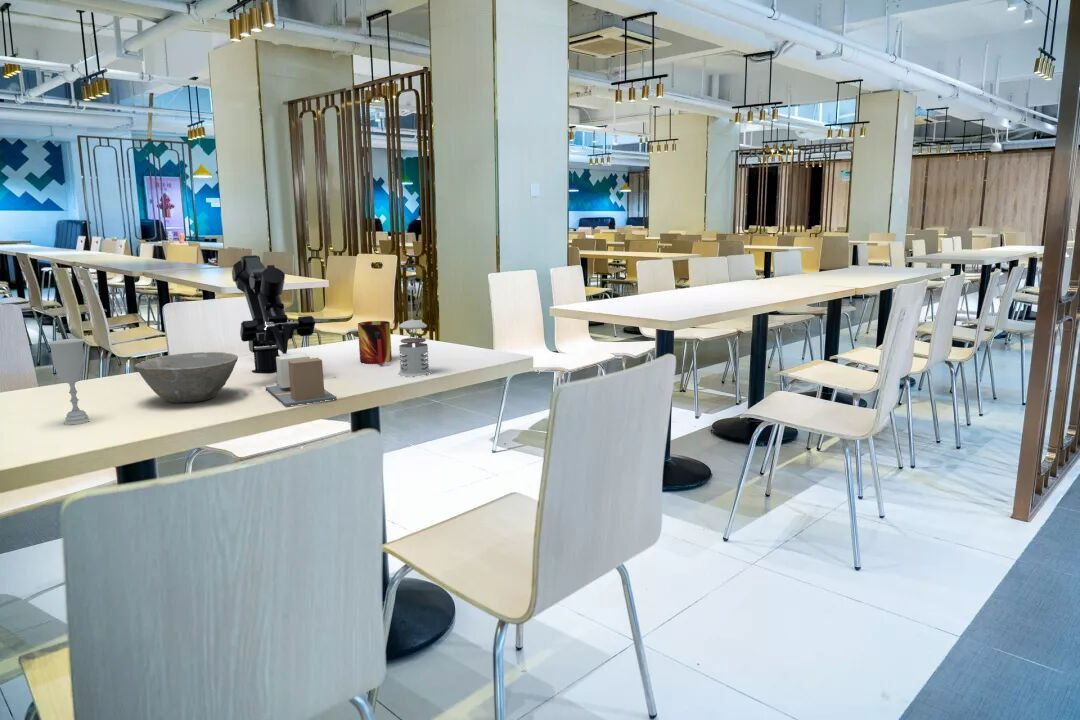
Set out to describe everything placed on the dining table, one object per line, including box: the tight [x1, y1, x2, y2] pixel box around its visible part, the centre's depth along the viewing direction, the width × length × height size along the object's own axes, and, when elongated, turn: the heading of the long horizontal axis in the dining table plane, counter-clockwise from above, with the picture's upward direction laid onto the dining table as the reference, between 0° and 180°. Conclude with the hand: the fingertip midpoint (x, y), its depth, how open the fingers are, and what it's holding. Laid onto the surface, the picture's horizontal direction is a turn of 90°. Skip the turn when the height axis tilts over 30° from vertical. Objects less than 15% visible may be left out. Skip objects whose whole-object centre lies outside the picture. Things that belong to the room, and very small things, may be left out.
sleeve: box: [276, 353, 311, 388], centre depth 189 cm, size 5×7×7 cm
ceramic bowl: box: [134, 351, 239, 404], centre depth 183 cm, size 22×23×10 cm
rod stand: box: [265, 357, 337, 407], centre depth 186 cm, size 22×12×10 cm, turn 32°
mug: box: [357, 320, 393, 365], centre depth 228 cm, size 10×14×12 cm
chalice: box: [47, 338, 91, 425], centre depth 163 cm, size 7×7×18 cm
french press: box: [397, 285, 432, 378], centre depth 209 cm, size 10×12×25 cm
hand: (285, 352), depth 196 cm, fingers closed
